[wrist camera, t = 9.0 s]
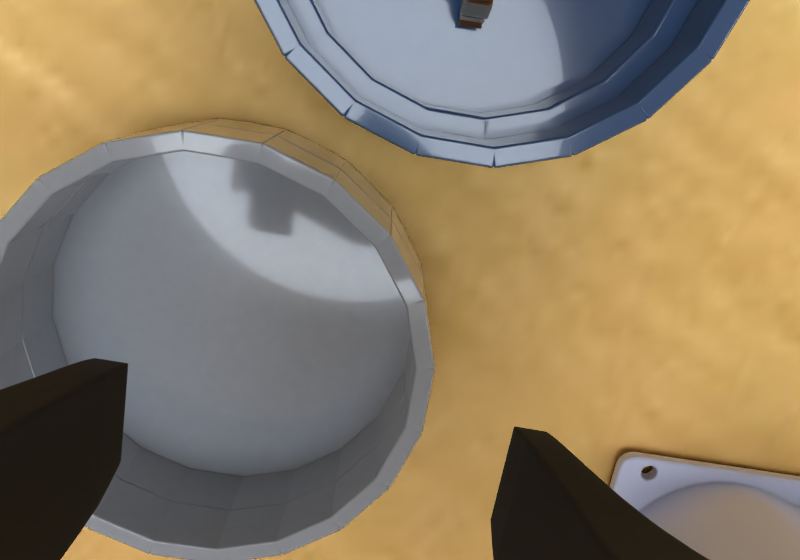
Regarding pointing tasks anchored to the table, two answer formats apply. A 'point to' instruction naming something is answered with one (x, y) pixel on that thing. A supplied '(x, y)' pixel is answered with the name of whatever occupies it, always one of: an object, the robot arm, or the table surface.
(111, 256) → the grey cake pan
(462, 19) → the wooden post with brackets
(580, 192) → the table surface
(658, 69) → the bowl
